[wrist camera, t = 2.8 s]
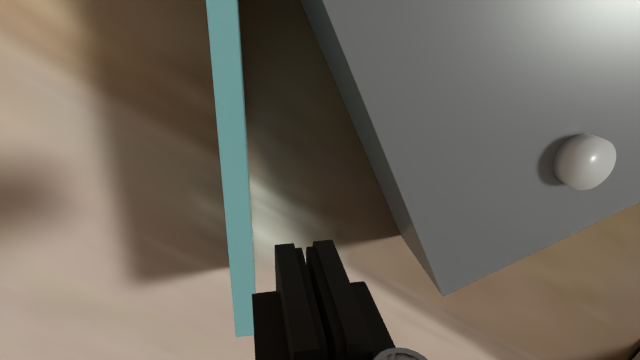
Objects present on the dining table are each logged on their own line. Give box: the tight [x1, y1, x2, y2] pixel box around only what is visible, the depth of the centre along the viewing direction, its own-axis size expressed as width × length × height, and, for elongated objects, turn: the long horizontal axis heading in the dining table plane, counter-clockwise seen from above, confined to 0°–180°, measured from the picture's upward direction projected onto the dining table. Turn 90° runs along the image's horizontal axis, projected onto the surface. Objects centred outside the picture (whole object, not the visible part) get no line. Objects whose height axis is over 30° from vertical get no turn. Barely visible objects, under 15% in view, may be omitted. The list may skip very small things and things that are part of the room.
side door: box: [206, 0, 256, 337], centre depth 18 cm, size 20×1×6 cm, turn 179°
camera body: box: [300, 0, 640, 296], centre depth 18 cm, size 22×12×7 cm, turn 24°
